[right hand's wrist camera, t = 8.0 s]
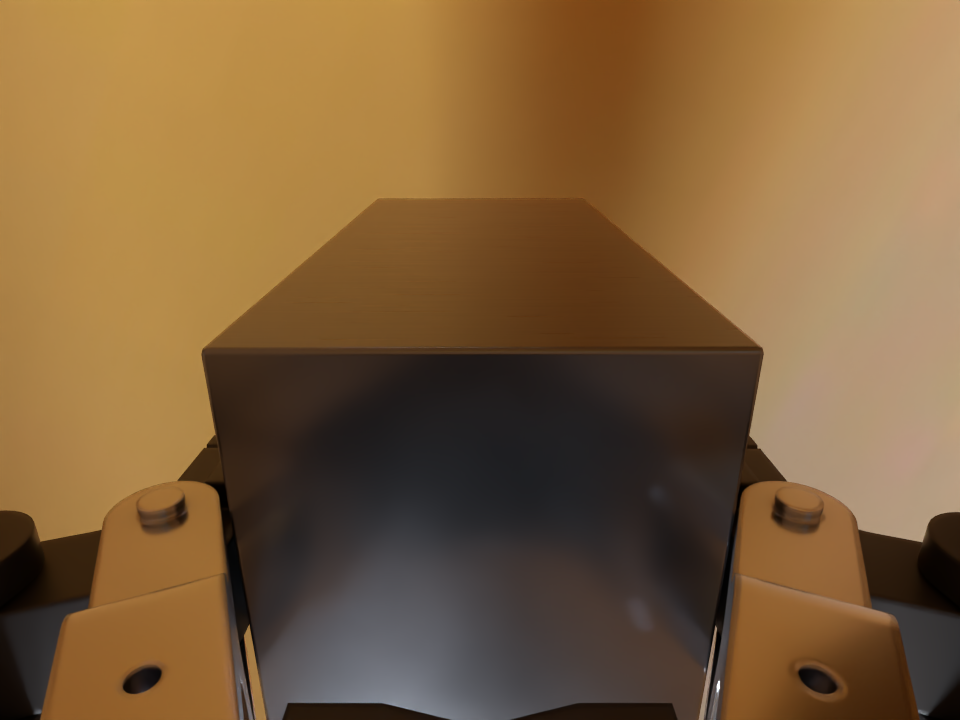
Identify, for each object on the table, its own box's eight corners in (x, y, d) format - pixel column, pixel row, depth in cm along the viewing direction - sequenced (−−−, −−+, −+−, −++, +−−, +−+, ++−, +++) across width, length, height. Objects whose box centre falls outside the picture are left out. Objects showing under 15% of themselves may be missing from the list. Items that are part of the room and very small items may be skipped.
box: (376, 198, 17) (197, 349, 6) (584, 197, 17) (768, 348, 6) (413, 807, 26) (368, 1295, 16) (548, 807, 26) (597, 1294, 16)
